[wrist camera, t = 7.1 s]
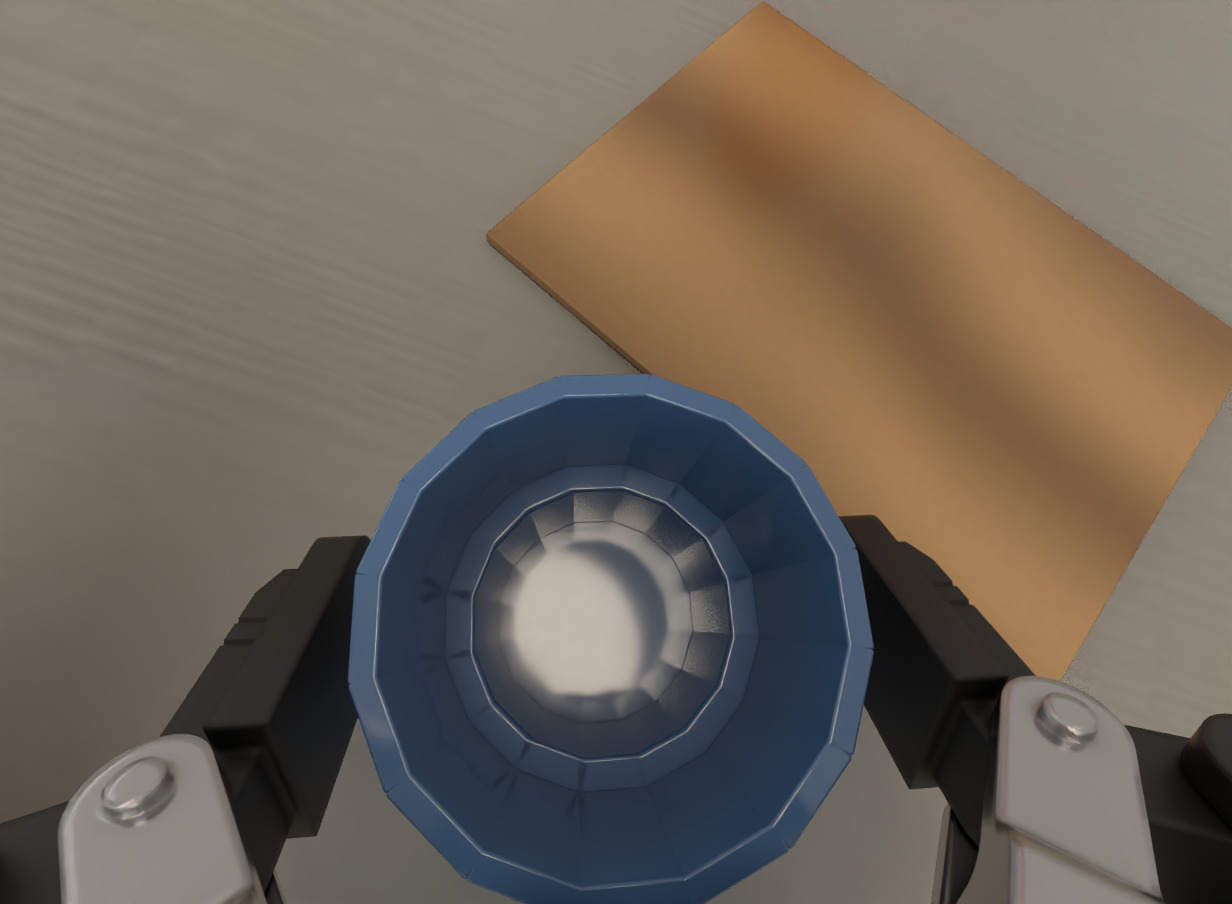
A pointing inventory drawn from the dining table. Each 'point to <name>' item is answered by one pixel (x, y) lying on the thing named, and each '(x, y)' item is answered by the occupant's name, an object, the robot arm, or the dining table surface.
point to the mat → (889, 320)
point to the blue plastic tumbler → (610, 644)
